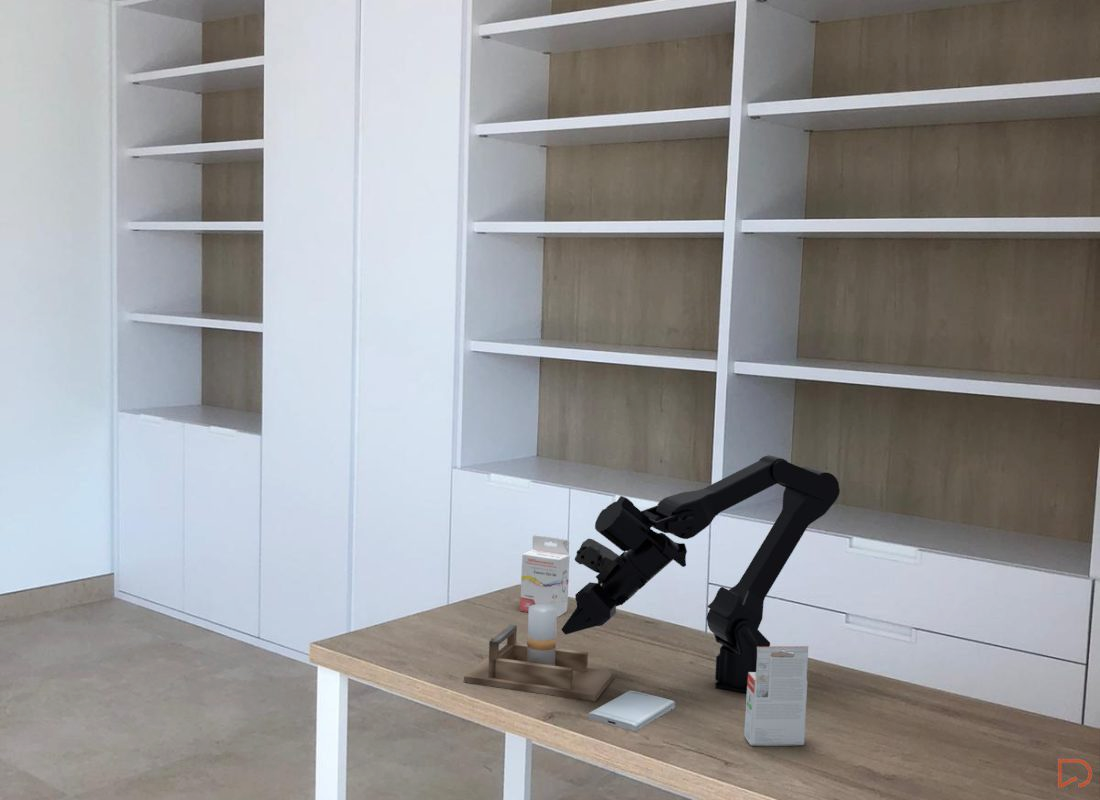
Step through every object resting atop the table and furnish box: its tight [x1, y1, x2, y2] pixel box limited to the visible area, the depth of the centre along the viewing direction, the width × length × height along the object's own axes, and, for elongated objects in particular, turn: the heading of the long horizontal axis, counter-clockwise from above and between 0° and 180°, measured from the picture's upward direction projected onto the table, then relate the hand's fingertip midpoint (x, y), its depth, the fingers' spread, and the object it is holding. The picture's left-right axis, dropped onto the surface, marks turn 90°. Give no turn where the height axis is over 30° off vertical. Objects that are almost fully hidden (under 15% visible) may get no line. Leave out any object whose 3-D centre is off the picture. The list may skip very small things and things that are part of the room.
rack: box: [463, 624, 615, 702], centre depth 185 cm, size 22×12×7 cm, turn 72°
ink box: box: [743, 645, 809, 747], centre depth 163 cm, size 4×8×15 cm, turn 96°
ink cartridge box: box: [519, 534, 571, 618], centre depth 225 cm, size 9×5×15 cm, turn 66°
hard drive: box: [587, 689, 676, 733], centre depth 173 cm, size 2×8×12 cm
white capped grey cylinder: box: [526, 604, 558, 666], centre depth 185 cm, size 5×5×11 cm
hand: (572, 624), depth 184 cm, fingers open, 9 cm apart
